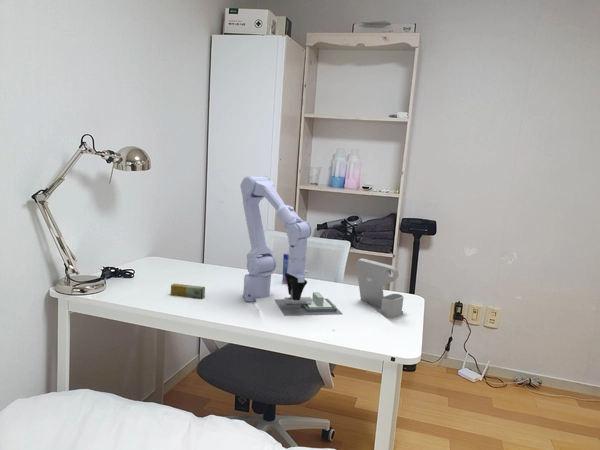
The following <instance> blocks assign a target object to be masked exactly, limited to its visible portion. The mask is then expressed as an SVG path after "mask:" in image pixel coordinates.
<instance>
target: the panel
mask: <svg viewBox="0 0 600 450" xmlns="http://www.w3.org/2000/svg"><path fill="white" fill-rule="evenodd" d="M284 299H285V298H284ZM284 299H283V298H282V299H281V298H277V299H276V298H274V299H273V300H274V301H275V304H276V305H277V307H278V308H279V310H280V311H281V314H283V317H284V316H285V317H288V316H289V317H290V316H291V317H292V316H300V317H301V316H335V315H343V312H342V311H340V309H339V308H338V307H337V306H336V305H335V304H334V303H333V302H332V301H331V300H330V299H329V298H324V299H325V300H326V301H327V302H328V303H329V304H330V305H331V306H332V308H310V309H308V307H307V306H306V305H305V304H286V303H285V302H284Z"/></svg>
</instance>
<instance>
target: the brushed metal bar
mask: <svg viewBox="0 0 600 450" xmlns="http://www.w3.org/2000/svg"><path fill="white" fill-rule="evenodd" d="M284 302H285V303H286V304H309V303H312V297H310V296H304V297H303V296H301V297H300V300H293V296H292V289H291V295H290V297H288V296H287V297H284Z"/></svg>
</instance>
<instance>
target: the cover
mask: <svg viewBox="0 0 600 450" xmlns="http://www.w3.org/2000/svg"><path fill="white" fill-rule="evenodd" d="M311 299H312V303H309V304H305V305H306V306H307V307H308V309H310V308H332V306H331V305H330V304H329V303H328V302H327V301H326V300H325V299H326V298H325V297H324V296H323V295H322V294H321V293H320V292H319V291H312V297H311Z"/></svg>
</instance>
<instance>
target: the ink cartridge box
mask: <svg viewBox="0 0 600 450" xmlns="http://www.w3.org/2000/svg"><path fill="white" fill-rule="evenodd" d="M288 258H289V252H286V253H283V257H282V262H283V263H282V283H283V284H287V280H286V277H285V275H284V274H285V273H287V269H288ZM306 260H307V259H306ZM306 260H305V266H306V264H307V263H306ZM304 277H306V274H305V275H304Z"/></svg>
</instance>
